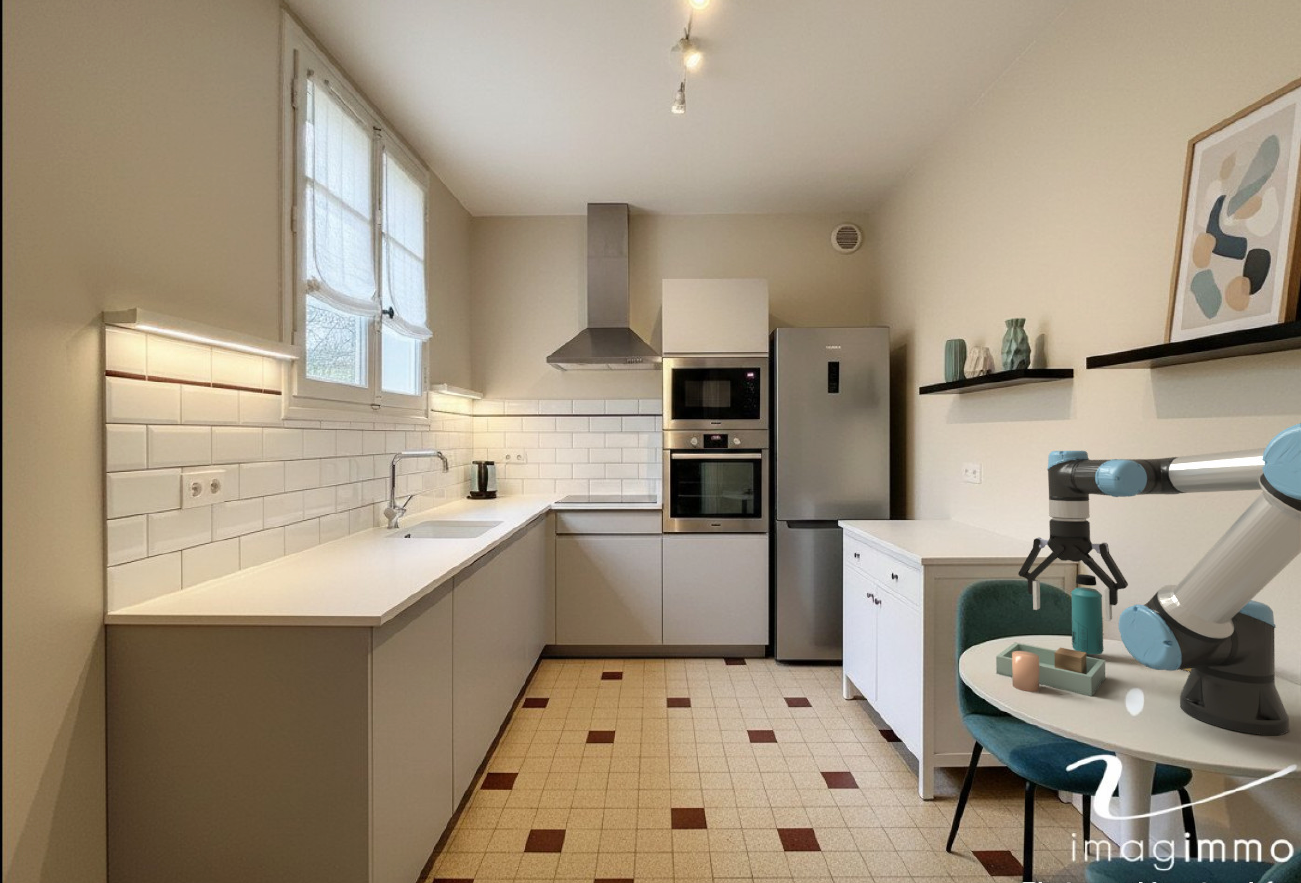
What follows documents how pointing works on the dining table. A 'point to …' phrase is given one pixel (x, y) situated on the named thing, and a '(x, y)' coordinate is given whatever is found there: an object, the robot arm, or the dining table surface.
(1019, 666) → the peach rounded smooth part
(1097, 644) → the beverage bottle
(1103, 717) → the dining table surface
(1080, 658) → the walnut cube
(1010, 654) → the tray
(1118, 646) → the dining table surface
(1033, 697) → the dining table surface
